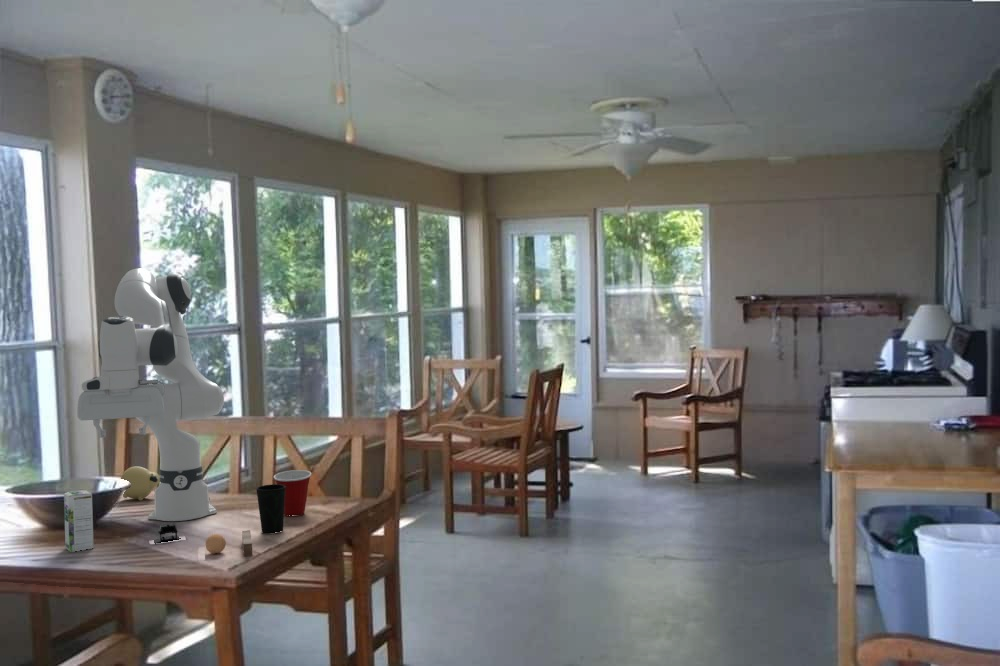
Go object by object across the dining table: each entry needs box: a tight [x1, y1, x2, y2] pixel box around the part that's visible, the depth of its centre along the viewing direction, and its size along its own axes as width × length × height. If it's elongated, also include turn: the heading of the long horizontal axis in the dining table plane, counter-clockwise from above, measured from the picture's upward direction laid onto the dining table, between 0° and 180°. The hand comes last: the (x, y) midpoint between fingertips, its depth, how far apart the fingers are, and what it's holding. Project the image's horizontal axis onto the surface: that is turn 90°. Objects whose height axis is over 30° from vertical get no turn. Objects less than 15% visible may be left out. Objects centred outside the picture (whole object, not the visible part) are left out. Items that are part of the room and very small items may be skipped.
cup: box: [256, 483, 286, 534], centre depth 252 cm, size 8×8×12 cm
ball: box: [205, 533, 227, 555], centre depth 232 cm, size 5×5×5 cm
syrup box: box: [63, 489, 95, 553], centre depth 239 cm, size 6×6×14 cm
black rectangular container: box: [153, 522, 181, 545], centre depth 246 cm, size 12×7×5 cm, turn 116°
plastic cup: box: [273, 469, 312, 517], centre depth 271 cm, size 11×11×12 cm
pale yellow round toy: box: [120, 465, 161, 501], centre depth 299 cm, size 10×12×11 cm
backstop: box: [241, 529, 253, 557], centre depth 235 cm, size 14×2×3 cm, turn 17°
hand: (122, 436), depth 235 cm, fingers open, 8 cm apart
